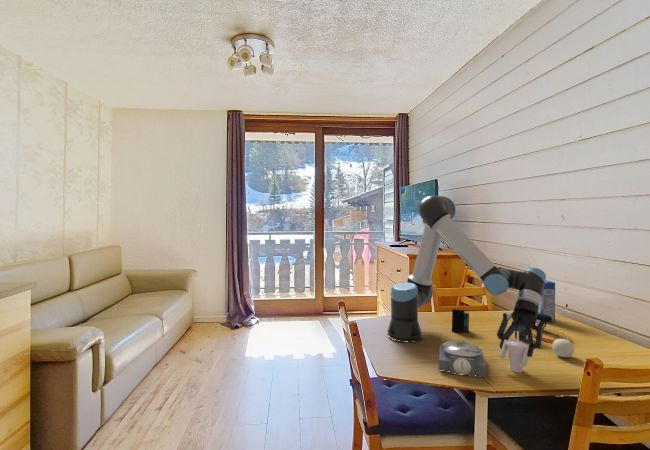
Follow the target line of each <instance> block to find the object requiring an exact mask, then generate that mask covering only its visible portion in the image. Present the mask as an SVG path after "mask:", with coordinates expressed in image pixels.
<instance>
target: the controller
mask: <svg viewBox="0 0 650 450" xmlns="http://www.w3.org/2000/svg"><path fill="white" fill-rule="evenodd" d="M537 320H540V321H541V320H543V321H544V322H545V325H546V326H545V327H544V329H545V328H546V327H547V325H548V323H550V322H549V321H552V318H551V316H548V315H545V314H542V313H540V312H538V314H537ZM537 328H538V326H537V324H534V325H533V326H531V329H533V330H535V329H537Z"/></svg>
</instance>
